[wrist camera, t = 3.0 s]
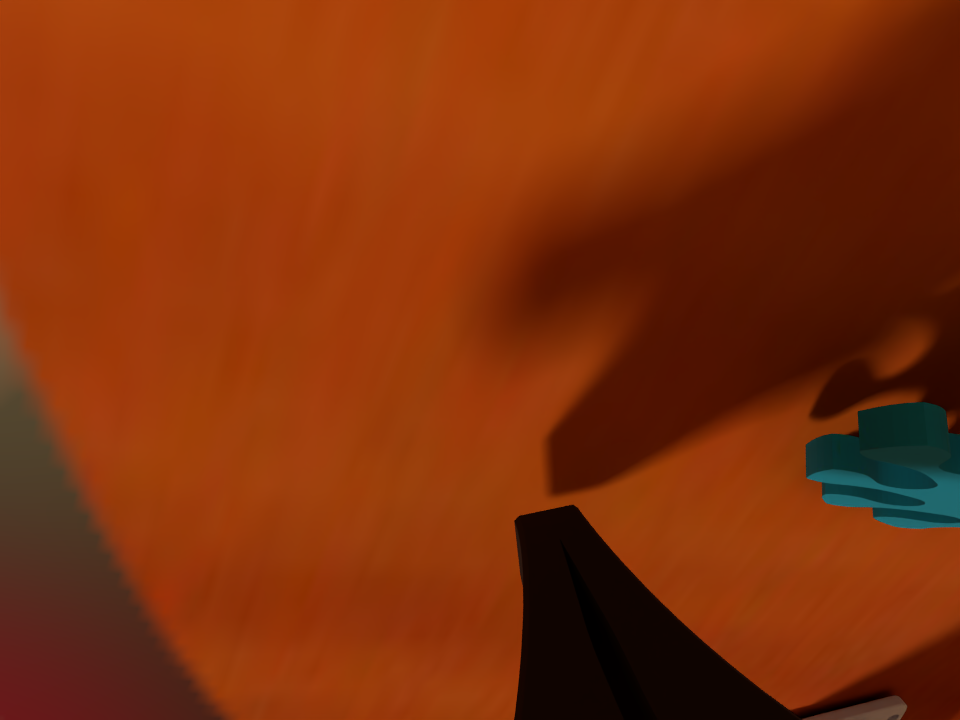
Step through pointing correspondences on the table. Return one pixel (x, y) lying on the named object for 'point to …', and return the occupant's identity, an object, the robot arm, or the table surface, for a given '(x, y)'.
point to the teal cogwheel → (893, 466)
